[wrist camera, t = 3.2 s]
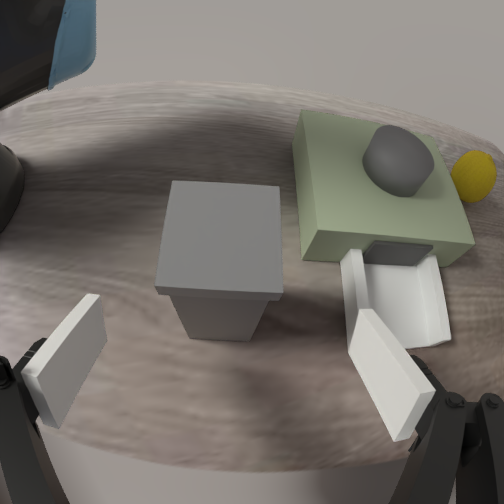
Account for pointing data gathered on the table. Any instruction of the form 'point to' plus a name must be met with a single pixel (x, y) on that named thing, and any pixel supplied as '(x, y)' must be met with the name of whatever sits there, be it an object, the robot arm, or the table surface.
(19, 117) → the table surface
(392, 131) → the green block with knob
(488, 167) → the lemon
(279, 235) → the gray capped pillar
